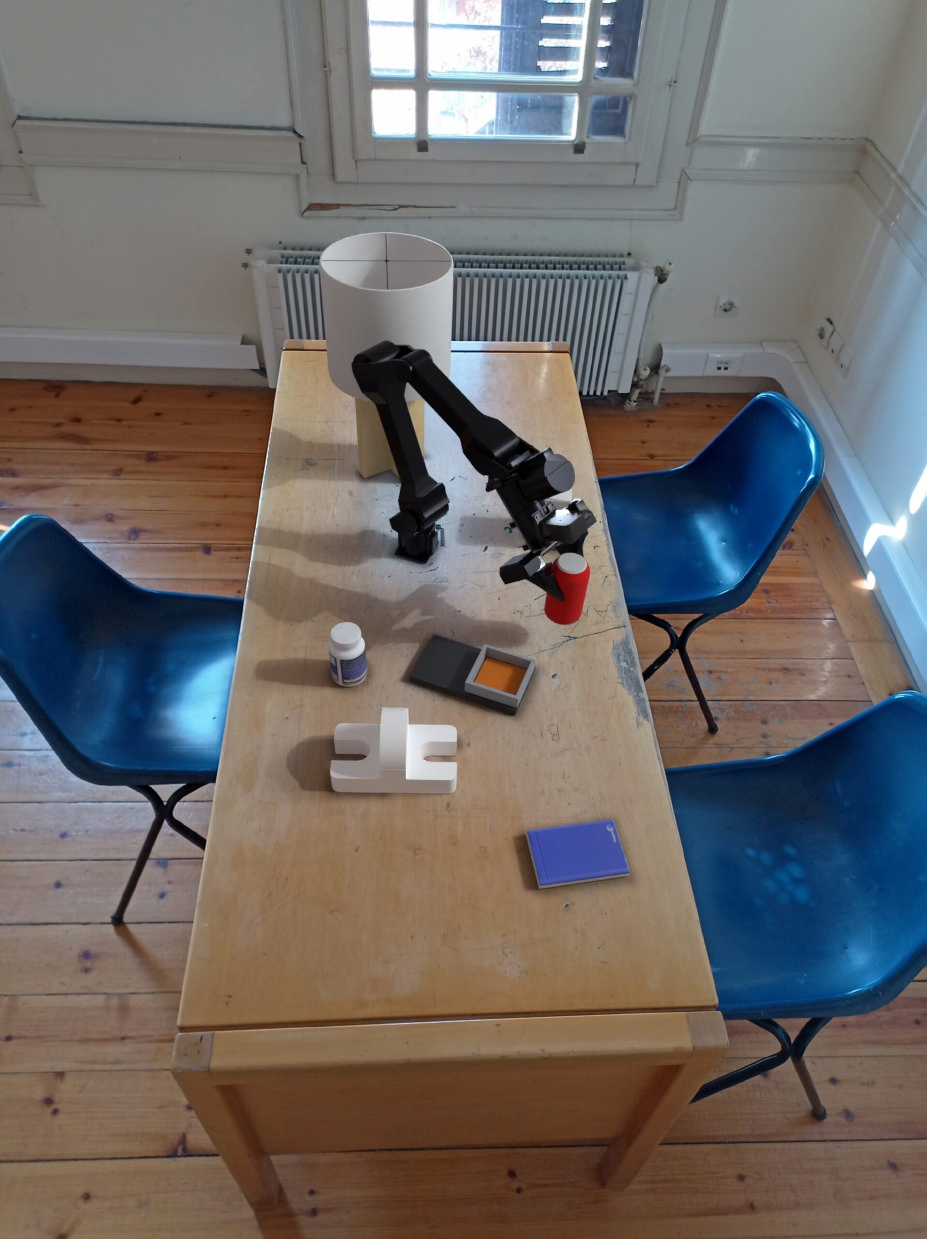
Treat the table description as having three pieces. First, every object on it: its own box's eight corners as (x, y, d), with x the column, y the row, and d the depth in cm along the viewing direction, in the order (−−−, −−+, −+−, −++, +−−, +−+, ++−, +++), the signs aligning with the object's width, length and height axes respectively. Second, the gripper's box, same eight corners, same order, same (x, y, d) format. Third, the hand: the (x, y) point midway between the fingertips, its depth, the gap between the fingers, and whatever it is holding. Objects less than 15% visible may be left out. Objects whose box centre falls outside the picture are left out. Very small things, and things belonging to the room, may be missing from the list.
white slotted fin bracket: (337, 737, 130) (332, 692, 122) (456, 739, 130) (458, 695, 123) (331, 792, 123) (325, 748, 116) (456, 793, 124) (458, 751, 116)
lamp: (469, 475, 176) (479, 270, 145) (372, 513, 166) (361, 302, 135) (410, 421, 188) (408, 222, 157) (316, 453, 179) (295, 248, 148)
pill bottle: (372, 666, 140) (370, 624, 133) (358, 692, 136) (355, 650, 129) (340, 657, 141) (336, 615, 134) (325, 682, 137) (320, 640, 130)
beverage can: (584, 626, 140) (596, 574, 132) (548, 630, 139) (557, 577, 131) (575, 600, 144) (586, 547, 136) (539, 603, 143) (548, 550, 135)
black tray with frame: (409, 681, 138) (409, 667, 136) (433, 638, 145) (433, 624, 142) (515, 715, 134) (517, 702, 132) (534, 670, 140) (537, 657, 138)
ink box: (564, 551, 161) (572, 501, 152) (538, 549, 161) (544, 499, 153) (564, 522, 167) (572, 472, 158) (539, 519, 167) (546, 470, 158)
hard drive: (613, 818, 120) (526, 829, 119) (630, 871, 115) (540, 884, 113) (611, 823, 121) (525, 835, 120) (628, 877, 116) (539, 889, 114)
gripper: (521, 523, 121) (573, 615, 125) (596, 465, 131) (642, 552, 135) (475, 539, 130) (525, 625, 134) (549, 484, 141) (594, 565, 144)
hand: (573, 591), depth 136 cm, fingers closed on beverage can, 6 cm apart
